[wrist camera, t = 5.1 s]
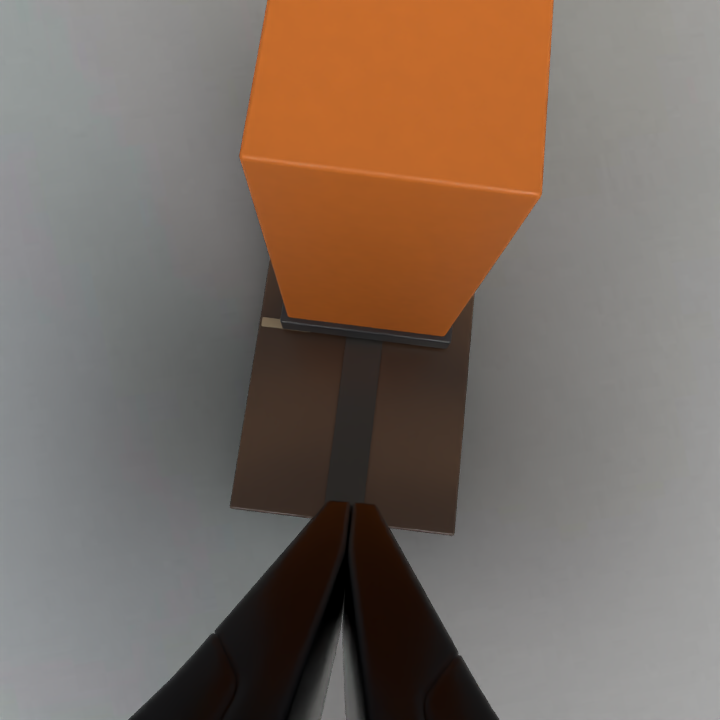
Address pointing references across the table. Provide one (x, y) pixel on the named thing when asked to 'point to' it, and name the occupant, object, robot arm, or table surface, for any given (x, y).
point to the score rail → (353, 423)
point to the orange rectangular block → (394, 155)
